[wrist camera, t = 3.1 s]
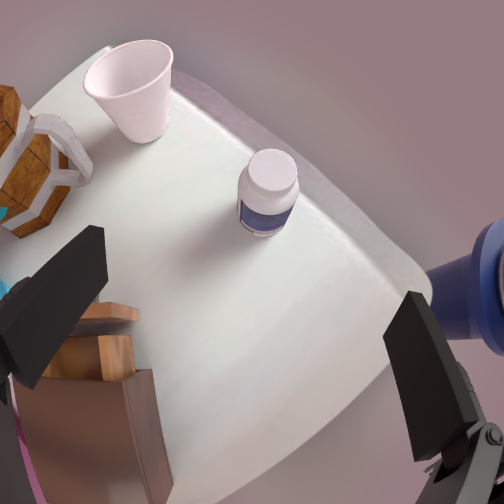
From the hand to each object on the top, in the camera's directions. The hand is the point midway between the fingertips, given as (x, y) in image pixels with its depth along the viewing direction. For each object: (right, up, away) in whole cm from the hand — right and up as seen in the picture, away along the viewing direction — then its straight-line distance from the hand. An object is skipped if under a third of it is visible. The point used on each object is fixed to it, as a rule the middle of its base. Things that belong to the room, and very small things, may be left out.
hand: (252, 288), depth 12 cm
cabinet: (-15, -18, +13) cm, 27 cm away
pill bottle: (+1, +5, +21) cm, 21 cm away
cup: (-14, +18, +23) cm, 32 cm away
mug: (-27, +9, +20) cm, 35 cm away
